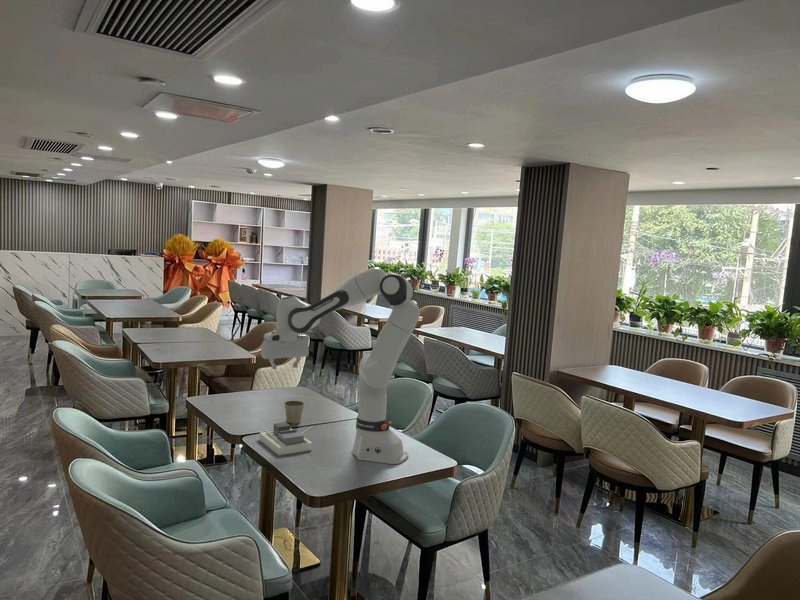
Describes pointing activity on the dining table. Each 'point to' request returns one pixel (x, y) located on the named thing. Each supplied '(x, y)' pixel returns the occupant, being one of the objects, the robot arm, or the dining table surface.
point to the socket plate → (280, 447)
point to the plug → (280, 427)
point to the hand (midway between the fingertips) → (284, 368)
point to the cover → (290, 436)
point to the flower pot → (293, 411)
